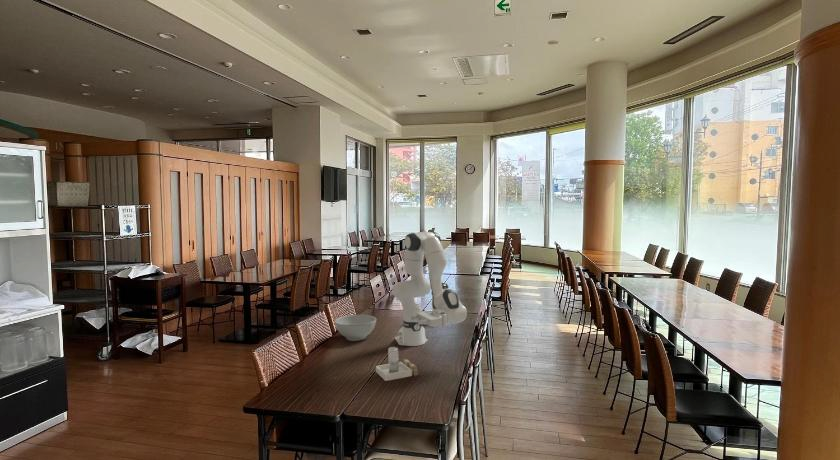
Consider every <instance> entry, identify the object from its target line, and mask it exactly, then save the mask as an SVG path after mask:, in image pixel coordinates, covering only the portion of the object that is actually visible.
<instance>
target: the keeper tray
mask: <svg viewBox="0 0 840 460" xmlns="http://www.w3.org/2000/svg"><path fill="white" fill-rule="evenodd" d="M398 363H399V372H395V373H389V363H387V364H386V363H385V364H381V365H376V366H375V373H376V374H377V375H378V376H379V377H381V378H382V379H383V381H385V382H387V381H392V380H398V379H403V378H410V377H412V376H413V374H412V370H411V369H410V368H409V367H407V366H406V365H405V364H403V361H398Z"/></svg>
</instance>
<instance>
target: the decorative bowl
mask: <svg viewBox="0 0 840 460" xmlns="http://www.w3.org/2000/svg"><path fill="white" fill-rule="evenodd" d="M376 324H377V317H375V316H373V315H371V314H370V315H369V314H351V315H345V316H344V315H343V316H341V317H338V318H336V319H334V326H335V329H337V331H338V332H339V334H340V335H341V336H343V337H344V338H346V340H348V341H349V342H350V341H351V342H358V341H363V340H365V339H366V338H367V336H368V335H370V334H371V333H372V331H373V330H374V329H375V326H376Z"/></svg>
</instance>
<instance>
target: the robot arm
mask: <svg viewBox="0 0 840 460" xmlns="http://www.w3.org/2000/svg"><path fill="white" fill-rule="evenodd" d="M441 240H442V239H441V236H440V234H439V233H438V232H436V231H421V232H411V233H408V234H406V236H405V237H404V247H405V248H406V250H405V254H404V255H405V256H404V271H405V273H406V274H407V275H410V279H408V280H402V281H399V282H397V283H395V284H393V286H392V294H393V296H394V298H396V300H398V301H399V302H400V304H401V306H402V310H403V312H402V313H403V320H402V327H400V328H399V330H398V331H397V333H396V334H397V336H395V341H396V342H397V344H398V345H399V346H407V347H417V346H423V345H424V344H426V342H428V338H427V337H426V329H425V328H424V327H425V326H423V324H427V325H426V326H429V327H431V328H432V327H433V328H438V327H440V328H441V327H442V328H445V327H447V325H449V324H451V325H453V324H454V325H455V324H458V323H462V322H463V321H465V320H466V319H467V315H468V311H467V308H466V307H465V306H464V304H462V301H460V298H459V296H458V293H457V292H456V291H455V290H453V289H451V288H448V289H447V290H445V291H444V292H443V288H442V283H443V282H442V277H443V273H444V271H445V268H446V266H447V256H446V253H445V250H444V246H443V245H442V241H441ZM424 257H425V260H426V265H427V271H428V279H427V278H426V277H425V274H424ZM430 292H432V294H431V293H430ZM429 294H431V296H432V295H433V300H432V299H431V308H432V307H433V309H434V310H433V312H432V311H428V310H423V309H422V307H421V305H420V304H418V303H416V302H415V298H420V297H424V296H427V295H429Z"/></svg>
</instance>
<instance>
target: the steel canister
mask: <svg viewBox="0 0 840 460" xmlns="http://www.w3.org/2000/svg"><path fill="white" fill-rule="evenodd" d="M387 357H388V358H387V359H388V364H389V373H395V372H399V363H398V362H399V347H397V346H390V347H388V348H387Z"/></svg>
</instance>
